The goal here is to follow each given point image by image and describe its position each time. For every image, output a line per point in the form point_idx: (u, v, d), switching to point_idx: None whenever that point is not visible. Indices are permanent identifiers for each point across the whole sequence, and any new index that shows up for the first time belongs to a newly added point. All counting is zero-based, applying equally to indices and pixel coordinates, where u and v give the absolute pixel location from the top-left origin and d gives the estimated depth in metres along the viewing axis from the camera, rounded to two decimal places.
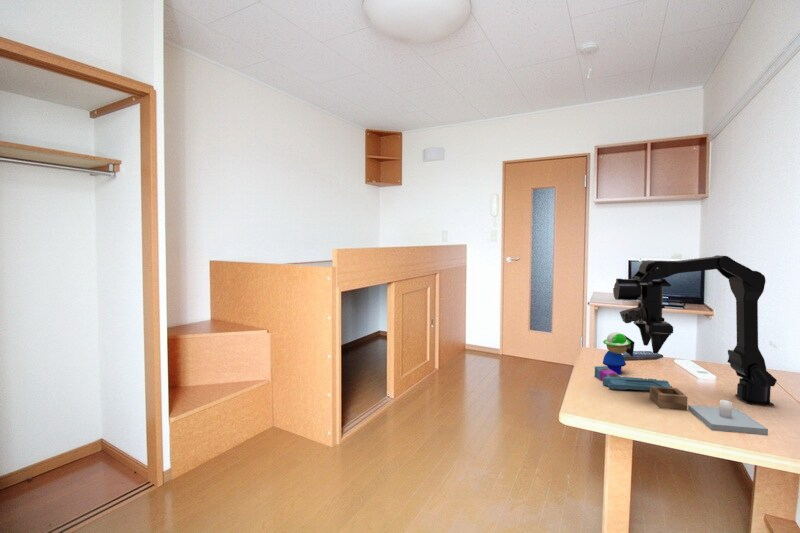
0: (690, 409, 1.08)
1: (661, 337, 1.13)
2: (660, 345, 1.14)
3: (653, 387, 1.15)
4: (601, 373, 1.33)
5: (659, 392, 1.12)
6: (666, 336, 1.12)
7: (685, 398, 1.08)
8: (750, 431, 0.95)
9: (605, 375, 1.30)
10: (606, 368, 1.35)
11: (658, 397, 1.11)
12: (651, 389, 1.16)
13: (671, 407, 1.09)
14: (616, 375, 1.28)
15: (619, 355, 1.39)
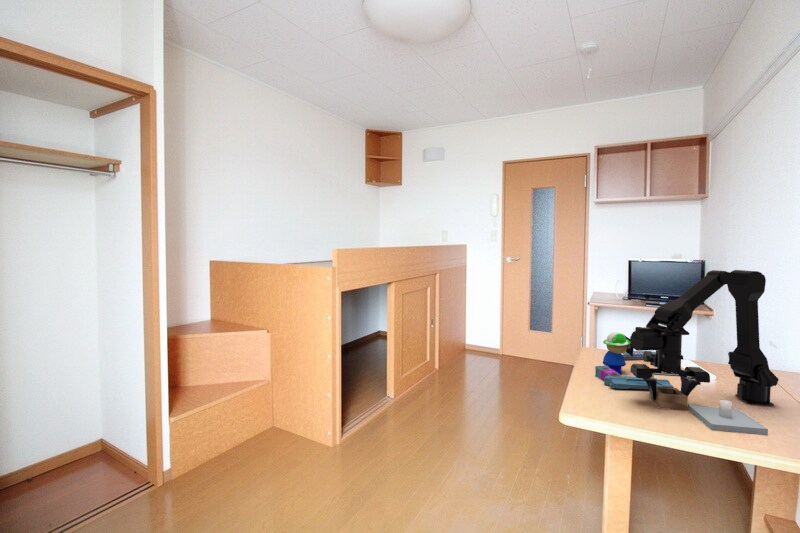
0: (690, 409, 1.08)
1: None
2: (651, 392, 1.13)
3: None
4: (601, 373, 1.33)
5: (659, 392, 1.12)
6: (649, 383, 1.12)
7: (685, 398, 1.08)
8: (750, 431, 0.95)
9: (606, 374, 1.31)
10: (607, 367, 1.36)
11: (658, 397, 1.11)
12: None
13: (671, 407, 1.09)
14: (617, 374, 1.29)
15: (619, 355, 1.39)
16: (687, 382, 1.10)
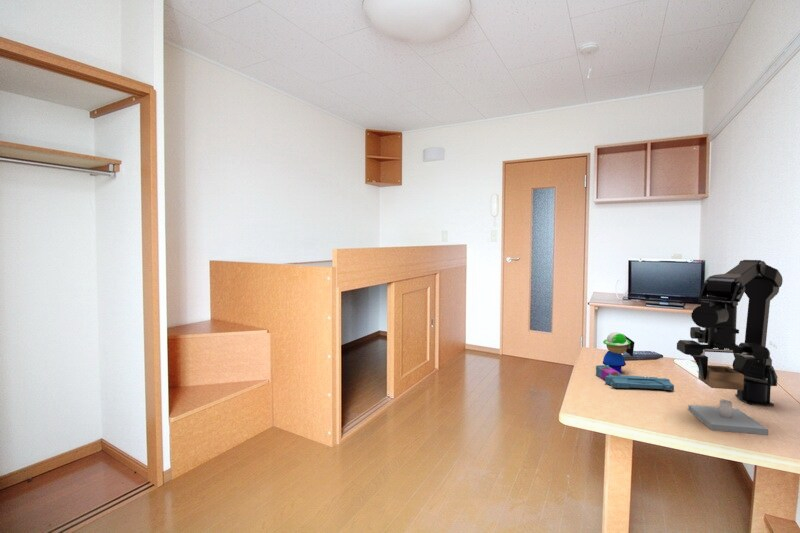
0: (690, 409, 1.08)
1: None
2: (701, 370, 1.02)
3: None
4: (602, 372, 1.34)
5: (710, 370, 1.01)
6: (700, 360, 1.01)
7: (741, 376, 0.98)
8: (750, 431, 0.95)
9: (607, 374, 1.31)
10: (607, 367, 1.36)
11: (710, 376, 1.00)
12: None
13: (725, 386, 0.99)
14: (618, 374, 1.30)
15: (619, 355, 1.39)
16: (743, 359, 0.99)
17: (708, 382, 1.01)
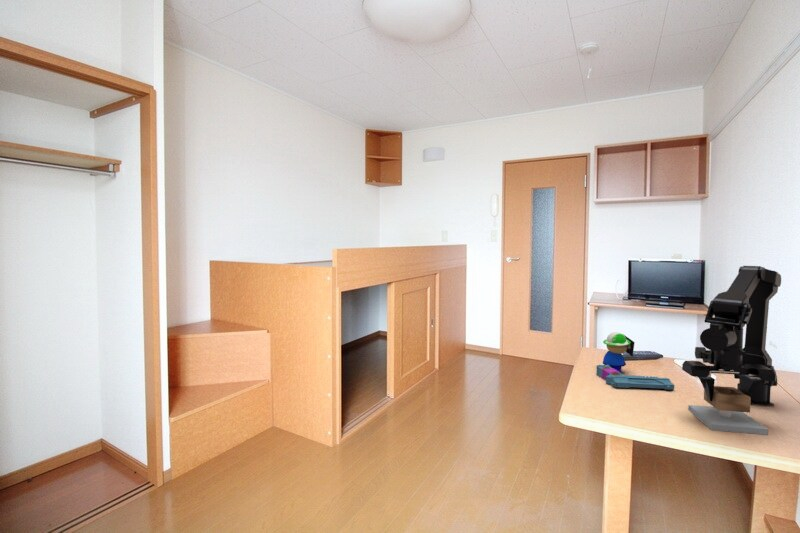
0: (690, 409, 1.08)
1: None
2: (708, 391, 1.01)
3: None
4: (603, 372, 1.34)
5: (717, 392, 1.00)
6: None
7: (748, 399, 0.97)
8: (750, 431, 0.95)
9: (607, 373, 1.31)
10: (608, 366, 1.37)
11: (716, 398, 0.99)
12: None
13: (732, 409, 0.98)
14: (618, 373, 1.30)
15: (619, 355, 1.39)
16: (749, 381, 0.98)
17: (715, 404, 1.00)
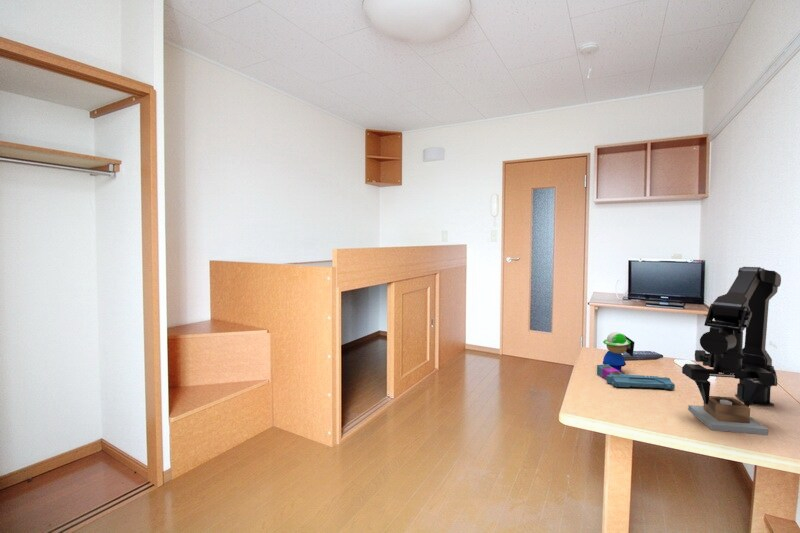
0: (690, 409, 1.08)
1: None
2: (703, 395, 1.01)
3: None
4: (603, 371, 1.35)
5: (717, 403, 1.00)
6: (702, 385, 1.00)
7: (747, 409, 0.97)
8: (750, 431, 0.95)
9: (608, 373, 1.32)
10: (608, 366, 1.37)
11: (716, 408, 0.99)
12: None
13: (731, 420, 0.98)
14: (619, 373, 1.30)
15: (619, 355, 1.39)
16: (753, 384, 0.98)
17: (714, 414, 1.00)
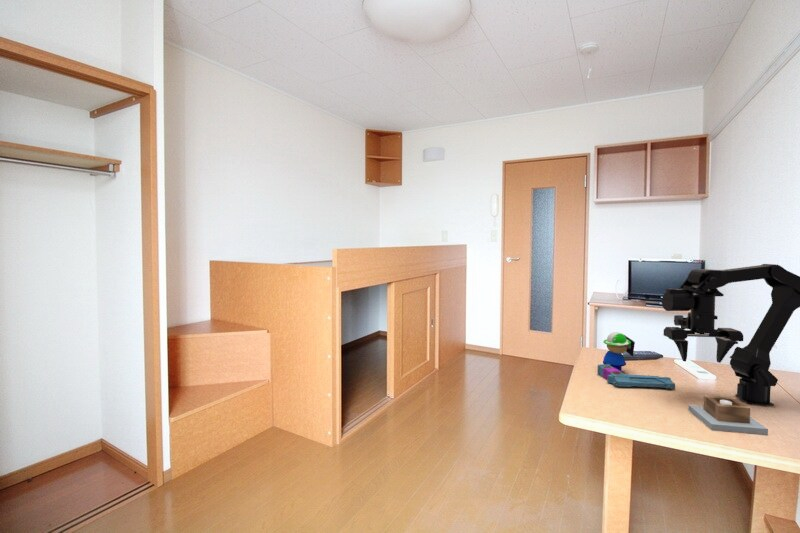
0: (690, 409, 1.08)
1: None
2: (682, 353, 1.15)
3: (708, 397, 1.04)
4: (604, 371, 1.35)
5: (717, 403, 1.00)
6: (681, 344, 1.14)
7: (747, 409, 0.97)
8: (750, 431, 0.95)
9: (609, 373, 1.32)
10: (609, 366, 1.37)
11: (716, 408, 0.99)
12: (705, 399, 1.04)
13: (731, 420, 0.98)
14: (620, 373, 1.31)
15: (619, 355, 1.39)
16: (724, 342, 1.12)
17: (714, 414, 1.00)
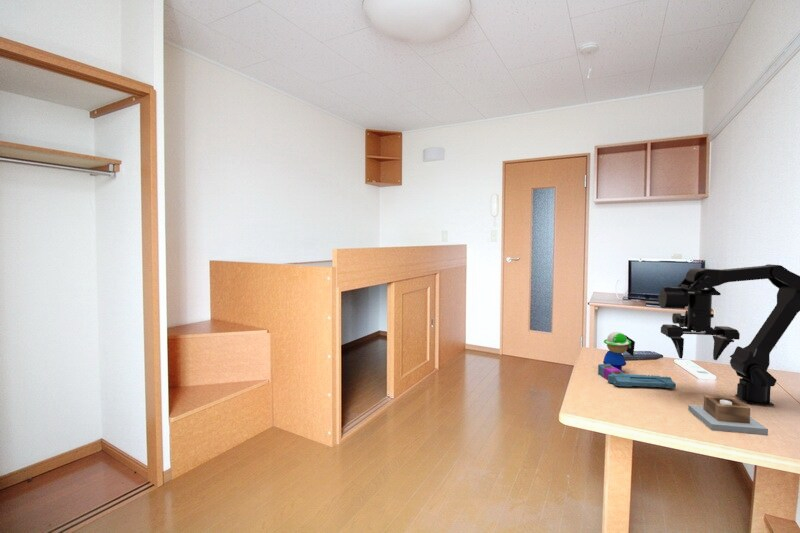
0: (690, 409, 1.08)
1: None
2: (678, 350, 1.17)
3: (708, 397, 1.04)
4: (604, 371, 1.35)
5: (717, 403, 1.00)
6: (677, 341, 1.16)
7: (747, 409, 0.97)
8: (750, 431, 0.95)
9: (609, 372, 1.32)
10: (609, 366, 1.38)
11: (716, 408, 0.99)
12: (705, 399, 1.04)
13: (731, 420, 0.98)
14: (620, 372, 1.31)
15: (620, 355, 1.39)
16: (720, 340, 1.14)
17: (714, 414, 1.00)
